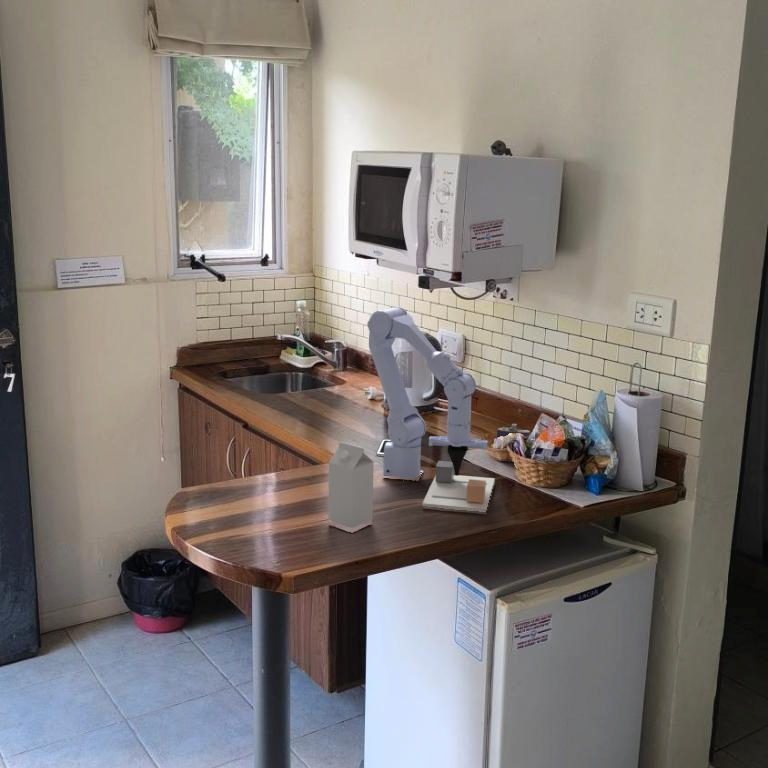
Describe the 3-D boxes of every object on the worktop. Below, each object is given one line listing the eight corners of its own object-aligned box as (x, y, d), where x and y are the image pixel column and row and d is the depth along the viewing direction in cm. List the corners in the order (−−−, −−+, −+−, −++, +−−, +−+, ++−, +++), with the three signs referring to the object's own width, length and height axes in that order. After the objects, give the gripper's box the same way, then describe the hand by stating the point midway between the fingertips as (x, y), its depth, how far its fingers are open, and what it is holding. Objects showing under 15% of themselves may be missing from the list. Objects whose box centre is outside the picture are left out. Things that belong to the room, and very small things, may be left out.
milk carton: (349, 517, 211) (349, 438, 207) (372, 525, 207) (374, 444, 203) (328, 526, 206) (328, 445, 202) (351, 534, 202) (352, 451, 197)
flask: (529, 461, 254) (531, 423, 251) (528, 464, 251) (530, 426, 249) (495, 458, 256) (497, 421, 253) (494, 461, 253) (496, 424, 251)
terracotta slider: (466, 501, 217) (467, 485, 216) (468, 495, 222) (469, 479, 221) (483, 502, 217) (484, 486, 216) (485, 496, 221) (485, 480, 220)
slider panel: (422, 509, 217) (422, 502, 217) (436, 478, 238) (436, 473, 238) (485, 515, 214) (486, 508, 214) (494, 483, 235) (494, 478, 235)
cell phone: (375, 457, 256) (375, 454, 255) (382, 441, 270) (382, 438, 270) (403, 459, 255) (403, 455, 254) (408, 443, 269) (408, 440, 269)
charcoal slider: (435, 481, 231) (436, 466, 230) (438, 475, 235) (438, 460, 234) (451, 482, 230) (451, 467, 229) (453, 477, 234) (454, 462, 233)
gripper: (427, 424, 226) (425, 477, 229) (486, 429, 223) (484, 482, 226) (431, 417, 232) (430, 468, 236) (489, 421, 230) (487, 472, 233)
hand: (457, 474), depth 231 cm, fingers closed
